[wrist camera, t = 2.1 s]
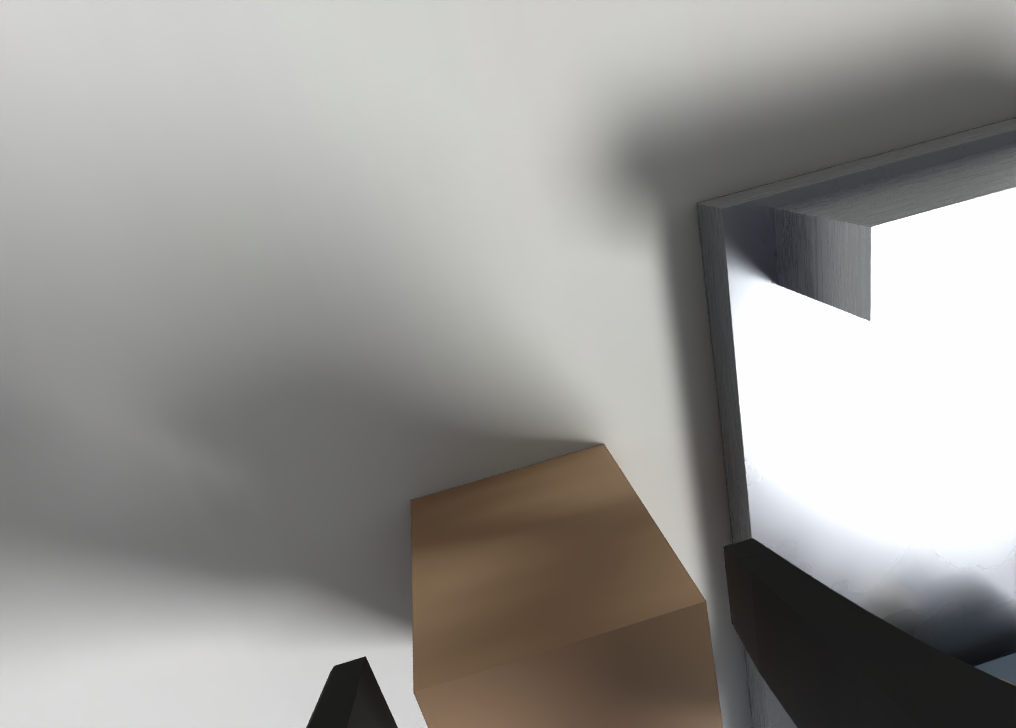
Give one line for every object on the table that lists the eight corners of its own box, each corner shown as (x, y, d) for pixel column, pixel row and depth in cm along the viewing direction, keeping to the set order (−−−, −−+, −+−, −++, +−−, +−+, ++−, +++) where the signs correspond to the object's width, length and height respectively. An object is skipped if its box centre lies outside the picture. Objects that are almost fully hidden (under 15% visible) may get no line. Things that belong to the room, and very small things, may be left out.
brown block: (462, 643, 15) (487, 870, 10) (410, 499, 13) (413, 692, 9) (632, 591, 15) (731, 788, 11) (603, 442, 14) (706, 600, 9)
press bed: (1040, 723, 20) (1163, 835, 17) (762, 817, 19) (834, 953, 16) (1148, 82, 12) (1411, 61, 9) (697, 203, 12) (807, 228, 9)
